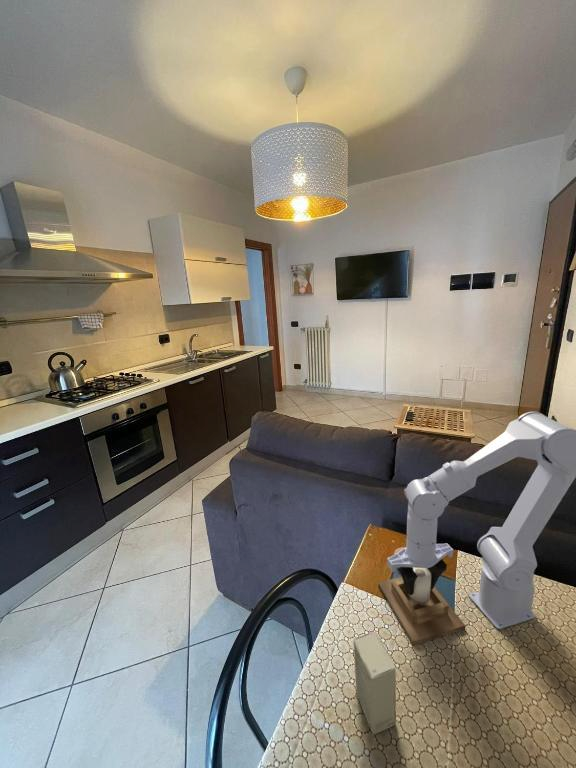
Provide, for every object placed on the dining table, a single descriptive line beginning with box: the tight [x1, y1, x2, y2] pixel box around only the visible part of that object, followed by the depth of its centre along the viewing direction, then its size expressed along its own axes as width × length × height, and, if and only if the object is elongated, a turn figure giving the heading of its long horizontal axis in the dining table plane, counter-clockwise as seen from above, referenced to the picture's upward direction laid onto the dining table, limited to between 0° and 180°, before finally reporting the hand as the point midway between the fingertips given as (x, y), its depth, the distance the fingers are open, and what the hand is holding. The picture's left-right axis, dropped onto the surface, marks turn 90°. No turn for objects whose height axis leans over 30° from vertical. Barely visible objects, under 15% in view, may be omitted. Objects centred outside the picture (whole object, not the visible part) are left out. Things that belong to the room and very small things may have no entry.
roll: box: [409, 567, 431, 604], centre depth 68 cm, size 4×4×6 cm
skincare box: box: [353, 631, 397, 735], centre depth 51 cm, size 6×4×12 cm
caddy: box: [377, 576, 466, 646], centre depth 69 cm, size 12×14×4 cm
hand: (418, 588), depth 68 cm, fingers closed on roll, 4 cm apart
